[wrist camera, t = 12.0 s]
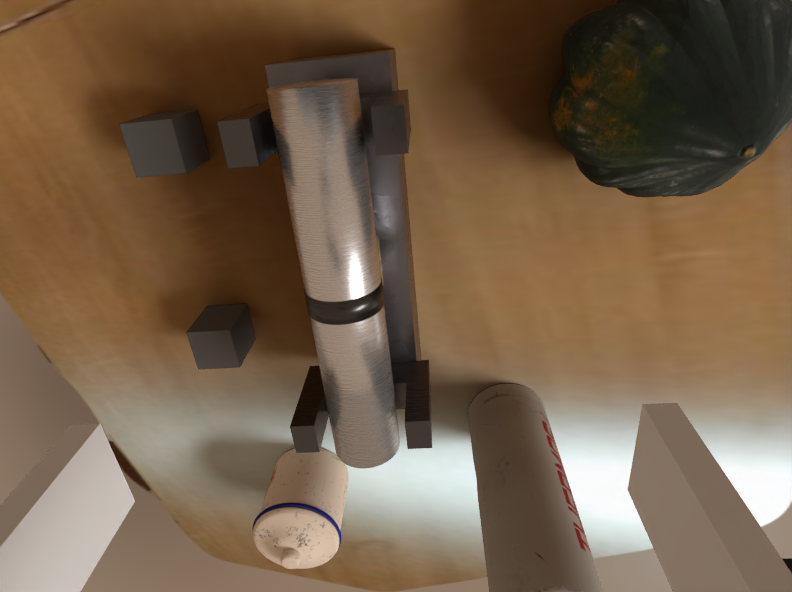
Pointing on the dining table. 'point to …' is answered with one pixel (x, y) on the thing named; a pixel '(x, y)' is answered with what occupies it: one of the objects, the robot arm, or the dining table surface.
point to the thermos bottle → (526, 498)
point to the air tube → (339, 260)
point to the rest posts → (178, 154)
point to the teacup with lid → (302, 510)
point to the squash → (674, 92)
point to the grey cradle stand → (385, 147)
